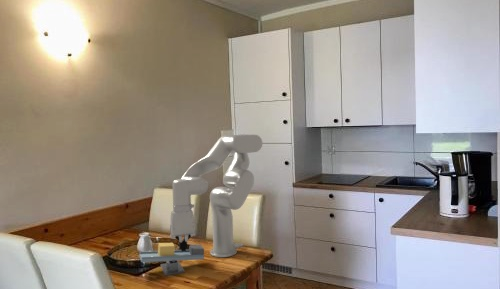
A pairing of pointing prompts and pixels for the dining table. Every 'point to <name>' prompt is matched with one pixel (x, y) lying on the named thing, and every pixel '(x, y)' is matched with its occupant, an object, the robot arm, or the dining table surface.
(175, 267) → the fulcrum
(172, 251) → the block
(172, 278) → the dining table surface
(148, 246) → the flask
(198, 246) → the beam
